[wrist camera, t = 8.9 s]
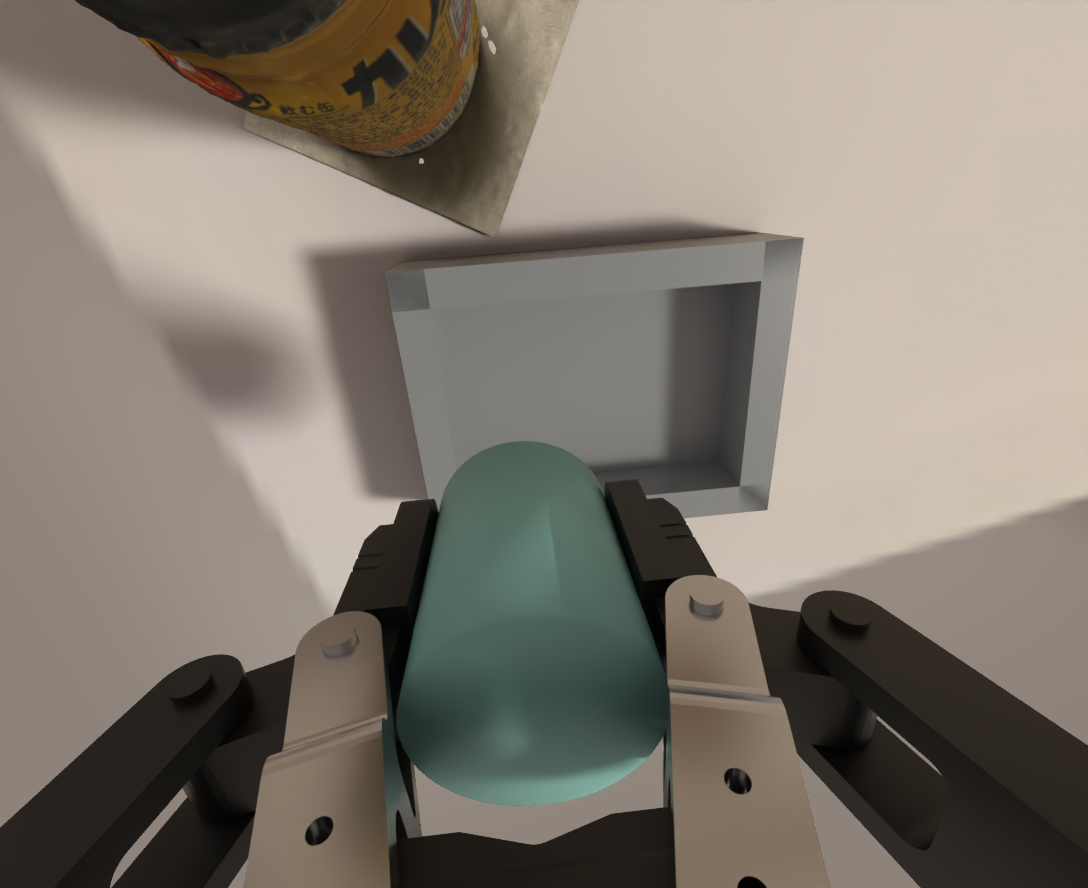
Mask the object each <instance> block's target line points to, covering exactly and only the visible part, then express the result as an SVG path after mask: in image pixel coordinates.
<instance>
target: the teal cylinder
mask: <svg viewBox="0 0 1088 888" xmlns="http://www.w3.org/2000/svg"><path fill="white" fill-rule="evenodd" d="M396 725H397V730H398V735H399V739H400V741H401V744H402V746H403V749H404V750H405V752H406V754H407V755H408V757H409V758H410V760H411V761H412V762H413V763H414V765H415V766H416V767H417V768H418V769H419V770H420V771H421V772H422V773H424V774H425V775H426V776H427V777H428V778H429V779H431V780H432V781H434V782H435V783H437V784H438V785H440V786H442V787H444V788H446V789H448V790H450V791H452V792H454V793H456V794H459V795H461V796H464V797H467V798H470V799H474V800H478V801H481V802H487V803H492V804H498V805H510V806H536V805H547V804H554V803H560V802H565V801H569V800H573V799H577V798H580V797H583V796H586V795H589V794H592V793H595V792H597V791H599V790H601V789H604V788H606V787H608V786H610V785H612V784H613V783H615V782H617V781H619V780H621V779H622V778H624V777H625V776H627V775H628V774H629V773H631V772H632V771H634V770H635V769H636V768H637V767H638V766H639V765H640V764H642V763H643V762H644V761H645V760H646V759H647V757H649V755H650V754H651V753H652V752H653V751H654V749H655V748H656V747H657V745H658V744H659V742H660V741H661V739H662V737H663V735H664V733H665V731H666V729H667V699H666V674H665V671H664V668H663V665H662V662H661V659H660V656H659V653H658V650H657V648H656V645H655V642H654V639H653V636H652V633H651V630H650V627H649V624H648V621H647V619H646V616H645V613H644V610H643V607H642V604H641V602H640V599H639V596H638V593H637V590H636V587H635V584H634V581H633V578H632V575H631V573H630V570H629V567H628V564H627V561H626V558H625V555H624V552H623V549H622V546H621V543H620V541H619V538H618V535H617V532H616V529H615V526H614V523H613V520H612V517H611V514H610V512H609V509H608V506H607V503H606V500H605V497H604V494H603V491H602V489H601V486H600V484H599V482H598V480H597V478H596V477H595V475H594V474H593V472H592V471H591V470H590V469H589V467H588V466H587V465H586V464H585V463H583V462H582V461H581V460H580V459H579V458H577V457H576V456H574V455H573V454H571V453H570V452H568V451H566V450H564V449H562V448H559V447H556V446H554V445H551V444H546V443H541V442H534V441H515V442H508V443H503V444H499V445H496V446H492V447H490V448H488V449H485V450H483V451H481V452H479V453H478V454H476V455H474V456H472V457H471V458H470V459H469V460H467V461H466V462H465V463H464V464H463V465H462V466H461V467H460V468H459V469H458V470H457V471H456V472H455V473H454V475H453V476H452V477H451V478H450V480H449V482H448V484H447V486H446V488H445V490H444V493H443V496H442V500H441V504H440V509H439V514H438V518H437V523H436V528H435V532H434V537H433V542H432V547H431V551H430V556H429V561H428V565H427V570H426V575H425V579H424V584H423V589H422V594H421V598H420V603H419V608H418V612H417V617H416V622H415V626H414V631H413V636H412V641H411V645H410V650H409V655H408V659H407V664H406V669H405V673H404V678H403V683H402V688H401V692H400V697H399V702H398V707H397V714H396Z"/></svg>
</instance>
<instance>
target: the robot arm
mask: <svg viewBox="0 0 1088 888" xmlns="http://www.w3.org/2000/svg"><path fill="white" fill-rule="evenodd" d="M604 493H605V500H606V503H607V506H608V509H609V512H610V514H611V517H612V520H613V523H614V526H615V529H616V532H617V535H618V538H619V541H620V543H621V546H622V549H623V552H624V555H625V558H626V561H627V564H628V567H629V570H630V573H631V575H632V578H633V581H634V584H635V587H636V590H637V593H638V596H639V599H640V602H641V604H642V607H643V610H644V613H645V616H646V619H647V621H648V624H649V627H650V630H651V633H652V636H653V639H654V642H655V645H656V648H657V650H658V653H659V656H660V659H661V662H662V665H663V668H664V671H665V674H666V699H667V729H666V731H665V733H664V735H663V737H662V751H663V752H662V753H663V808H656V809H648V810H640V811H631V812H623V813H615V814H610V815H608V816H605V817H603V818H601V819H599V820H596V821H594V822H591V823H589V824H587V825H585V826H582V827H580V828H578V829H575V830H573V831H571V832H568V833H566V834H564V835H561V836H559V837H557V838H554V839H552V840H550V841H547V842H545V843H542V844H537V845H530V844H523V843H518V842H512V841H507V840H501V839H495V838H490V837H484V836H479V835H473V834H467V833H461V832H457V833H449V834H440V835H431V836H423V837H422V831H421V824H420V814H419V805H418V796H417V787H416V779H415V770H414V763H413V762H412V761H411V760H410V758H409V757H408V755H407V754H406V752H405V750H404V749H403V746H402V744H401V741H400V739H399V735H398V730H397V725H396V714H397V707H398V702H399V697H400V692H401V688H402V683H403V678H404V673H405V669H406V664H407V659H408V655H409V650H410V645H411V641H412V636H413V631H414V626H415V622H416V617H417V612H418V608H419V603H420V598H421V594H422V589H423V584H424V579H425V575H426V570H427V565H428V561H429V556H430V551H431V547H432V542H433V537H434V532H435V528H436V523H437V518H438V514H439V513H438V508H437V504H436V501H435V499H426V500H416V501H406V502H401V504H400V506H399V509H398V512H397V515H396V518H395V521H394V524H390V525H381V526H379V527H378V528H377V529H376V530H374V531H373V532H372V533H371V534H370V535H369V536H368V537H367V538H366V539H365V540H364V543H363V545H362V548H361V550H360V552H359V555H358V559H357V560H356V562H355V564H354V567H353V572H351V574H350V577H349V579H348V581H347V584H346V586H345V589H344V591H343V593H342V596H341V598H340V601H339V603H338V605H337V608H336V610H335V613H334V615H333V616H331V617H329V618H327V619H325V620H323V621H321V622H320V623H318V624H317V625H316V626H314V627H313V628H311V629H310V630H309V631H308V632H307V633H306V634H305V636H303V638H302V639H301V641H300V642H299V644H298V646H297V649H296V653H295V655H293V656H291V657H289V658H286V659H284V660H281V661H278V662H275V663H272V664H269V665H267V666H264V667H261V668H258V669H255V670H252V671H249V672H246V673H245V671H244V669H243V667H242V665H241V663H240V661H239V660H238V659H236V658H234V657H233V656H229V655H212V656H206V657H203V658H200V659H197V660H194V661H192V662H190V663H187V664H185V665H184V666H181V667H180V668H178V669H176V670H175V671H173V672H172V673H170V674H169V675H167V676H166V677H165V678H164V679H162V680H161V681H160V682H159V683H158V684H157V685H156V686H155V687H153V688H152V689H151V690H150V691H149V692H148V693H147V694H146V695H145V696H144V697H143V698H141V699H140V700H139V701H138V702H137V703H136V704H135V705H134V706H133V707H132V708H131V709H130V710H128V711H127V712H126V713H125V714H124V715H123V716H122V717H121V718H120V719H118V720H117V721H116V722H115V723H114V724H113V725H112V726H111V727H110V728H109V729H108V730H106V731H105V732H104V733H103V734H102V735H101V736H100V737H99V738H98V739H97V740H96V741H94V742H93V743H92V744H91V745H90V746H89V747H88V748H87V749H86V750H85V751H84V752H82V753H81V754H80V755H79V756H78V757H77V758H76V759H75V760H74V761H73V762H72V763H70V764H69V765H68V766H67V767H66V768H65V769H64V770H63V771H62V772H61V773H59V775H57V776H56V777H55V778H54V779H53V780H52V781H51V782H50V783H49V784H48V785H46V786H45V787H44V788H43V789H42V790H41V791H40V792H39V793H38V794H37V795H35V796H34V797H33V798H32V799H31V800H30V801H29V802H28V803H27V804H26V805H25V806H24V807H22V808H21V809H20V810H19V811H18V812H17V813H16V814H15V815H14V816H13V817H11V818H10V819H9V820H8V821H7V822H6V823H5V824H4V825H3V826H2V827H1V828H0V888H110V884H111V880H112V877H113V874H114V872H115V870H116V868H117V866H118V864H119V862H120V861H121V859H122V858H123V856H124V855H125V854H126V853H127V851H128V850H129V849H130V848H131V847H132V845H133V844H134V843H135V842H136V841H137V840H138V838H139V837H140V836H141V835H142V834H143V833H144V831H145V830H146V829H147V828H148V827H149V826H150V825H151V823H152V822H153V821H154V820H155V819H156V818H157V816H158V815H159V814H160V813H161V812H162V811H163V809H164V808H165V807H166V806H167V805H168V804H169V802H170V801H171V800H172V799H173V798H174V797H175V796H176V794H177V793H178V792H179V791H180V790H181V789H182V788H183V790H184V792H185V793H186V795H187V798H186V800H185V801H184V802H183V803H182V804H181V805H180V807H179V808H178V809H177V810H176V811H175V813H174V814H173V815H172V816H171V817H170V819H169V820H168V821H167V822H166V823H165V824H164V826H163V827H162V828H161V829H160V830H159V832H158V833H157V834H156V835H155V836H154V838H153V839H152V840H151V841H150V842H149V844H148V845H147V846H146V847H145V848H144V849H143V851H142V852H141V853H140V854H139V855H138V857H137V858H136V859H135V860H134V861H133V863H132V864H131V865H130V866H129V867H128V869H127V870H126V871H125V872H124V873H123V875H122V876H121V877H120V878H119V879H118V881H117V882H116V883H115V884H114V885H113V887H112V888H228V887H229V885H230V884H231V882H232V881H233V879H234V878H235V876H236V875H237V873H238V872H239V871H240V869H241V867H242V866H243V865H244V863H245V862H246V860H247V859H248V862H247V868H246V874H245V880H244V886H243V888H831V885H830V882H829V877H828V873H827V870H826V865H825V862H824V858H823V854H822V850H821V846H820V842H819V838H818V834H817V830H816V826H815V822H814V818H813V815H812V811H811V807H810V803H809V799H808V795H807V791H806V787H805V784H804V779H803V775H802V771H801V768H800V764H799V760H798V756H797V754H798V755H799V756H800V757H801V758H802V759H803V761H804V762H805V763H806V764H807V765H808V766H809V767H810V768H811V769H812V770H813V771H814V772H815V774H816V775H817V776H818V777H819V778H820V779H821V780H822V781H823V782H824V783H825V784H826V786H828V788H829V789H830V790H831V791H832V792H833V793H834V794H835V795H836V796H837V797H838V799H839V800H840V801H841V802H842V803H843V804H844V805H845V806H846V807H847V808H848V809H849V810H850V812H851V813H852V814H853V815H854V816H855V817H856V818H857V819H858V820H859V821H860V822H861V823H862V825H863V826H864V827H865V828H866V829H867V830H868V831H869V832H870V833H871V834H872V835H873V837H874V838H875V839H876V840H877V841H878V842H879V843H880V844H881V845H882V846H883V847H884V848H885V849H886V851H887V852H888V853H889V854H890V855H891V856H892V857H893V858H894V859H895V860H896V861H897V863H898V864H899V865H900V866H901V867H902V868H903V869H904V870H905V871H906V872H907V873H908V874H909V875H910V877H911V878H912V879H913V880H914V881H915V882H916V883H917V884H918V885H919V886H920V887H921V888H1088V745H1086V744H1085V743H1083V742H1082V741H1080V740H1079V739H1077V738H1076V737H1074V736H1073V735H1071V734H1070V733H1068V732H1067V731H1065V730H1064V729H1062V728H1061V727H1059V726H1058V725H1056V724H1055V723H1053V722H1052V721H1050V720H1049V719H1047V718H1046V717H1044V716H1043V715H1042V714H1040V713H1039V712H1037V711H1036V710H1034V709H1033V708H1031V707H1030V706H1028V705H1027V704H1025V703H1024V702H1022V701H1021V700H1019V699H1018V698H1016V697H1015V696H1013V695H1011V694H1010V693H1009V692H1007V691H1006V690H1004V689H1003V688H1001V687H1000V686H998V685H997V684H995V683H994V682H992V681H991V680H989V679H988V678H986V677H985V676H983V675H982V674H980V673H979V672H977V671H976V670H974V669H973V668H971V667H970V666H968V665H967V664H965V663H964V662H962V661H961V660H960V659H958V658H956V657H955V656H954V655H952V654H951V653H949V652H948V651H946V650H945V649H943V648H942V647H940V646H939V645H937V644H936V643H934V642H933V641H931V640H930V639H928V638H927V637H925V636H924V635H922V634H921V633H919V632H918V631H916V630H915V629H913V628H912V627H910V626H909V625H907V624H906V623H904V622H903V621H901V620H900V619H898V618H897V617H895V616H894V615H892V614H891V613H889V612H888V611H886V610H885V609H883V608H882V607H880V606H879V605H877V604H875V603H874V602H872V601H870V600H868V599H866V598H864V597H861V596H858V595H855V594H852V593H848V592H842V591H821V592H817V593H814V594H812V595H810V596H808V597H807V598H806V599H805V601H804V602H803V604H802V608H801V612H795V611H787V610H780V609H773V608H766V607H761V606H757V605H754V604H751V603H748V601H747V598H746V597H745V595H744V594H743V593H742V592H741V591H740V590H739V589H738V588H737V587H736V586H734V585H733V584H731V583H730V582H727V581H725V580H723V579H720V578H717V576H716V574H715V573H714V571H713V569H712V567H711V566H710V564H709V562H708V560H707V559H706V557H705V555H704V553H703V552H702V550H701V548H700V546H699V545H698V543H697V541H696V539H695V538H694V537H693V535H692V532H691V531H690V529H689V527H688V525H686V522H685V520H684V518H683V517H682V515H681V513H680V511H679V510H678V508H676V507H675V506H674V505H672V504H671V503H669V502H668V501H666V500H665V499H664V498H652V499H647V498H646V496H645V494H644V492H643V489H642V487H641V485H640V483H639V481H638V480H637V479H630V480H620V481H610V482H605V489H604ZM877 716H879V717H880V718H881V719H882V720H883V721H885V722H886V723H887V724H888V725H889V726H890V727H891V728H893V729H894V730H895V731H896V732H897V733H899V734H900V735H901V736H902V737H903V738H904V739H905V740H906V741H908V742H909V743H910V744H911V745H912V746H913V747H915V748H916V749H917V750H918V751H919V752H920V753H922V754H923V755H924V756H925V757H926V758H927V759H928V760H930V762H932V764H933V765H934V766H935V767H936V768H937V769H938V770H939V772H940V773H941V775H942V776H943V777H942V776H941V775H940V774H939V773H938V772H937V771H935V770H934V769H933V768H932V767H931V766H930V765H929V764H928V763H926V762H925V761H924V760H923V759H922V758H921V757H919V756H918V755H917V754H916V753H915V752H914V751H913V750H911V749H910V748H909V747H908V746H907V745H906V744H905V743H903V742H902V741H901V740H900V739H899V738H898V737H896V736H895V735H894V734H893V733H892V732H891V731H890V730H888V729H887V728H886V727H885V726H884V725H882V723H881V722H879V721H878V720H877Z"/></svg>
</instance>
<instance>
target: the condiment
mask: <svg viewBox="0 0 1088 888" xmlns="http://www.w3.org/2000/svg"><path fill="white" fill-rule="evenodd" d="M75 1H77V2H78V3H79V4H80V5H82V6H84V7H86V8H88V9H90V10H92V11H93V12H95V13H96V14H98V15H100V16H101V17H103V18H104V19H106V20H108V21H110V22H111V23H113V24H114V25H115V26H116V27H118V28H119V29H121V30H123V31H126V32H128V33H131V34H133V35H135V36H137V37H138V38H139V39H140V40H141V41H142V42H143V43H144V44H145V45H146V46H147V47H148V48H150V49H151V50H152V51H153V52H154V53H155V54H156V55H157V56H158V57H159V58H160V59H161V60H162V61H163V62H165V63H166V64H167V65H169V66H170V67H171V68H172V69H173V70H175V71H176V72H177V73H178V74H180V75H181V76H183V77H184V78H186V79H188V80H189V81H191V82H193V83H195V84H197V85H198V86H200V87H201V88H203V89H204V90H206V91H207V92H209V93H210V94H211V95H214V96H217V97H219V98H221V99H223V100H224V101H226V102H230V103H231V104H233V105H235V106H237V107H239V108H242V109H244V110H245V116H244V123H243V128H244V129H246V130H248V131H251V132H253V133H255V134H258V135H260V136H262V137H265V138H267V139H269V140H272V141H274V142H276V143H278V144H281V145H283V146H285V147H288V148H290V149H292V150H295V151H297V152H299V153H302V154H304V155H306V156H309V157H311V158H313V159H316V160H318V161H320V162H322V163H325V164H327V165H329V166H332V167H334V168H336V169H339V170H341V171H343V172H345V173H348V174H350V175H352V176H355V177H357V178H359V179H362V180H364V181H366V182H368V183H371V184H373V185H375V186H377V187H379V188H382V189H384V190H387V191H389V192H391V193H393V194H396V195H398V196H400V197H403V198H405V199H408V200H410V201H412V202H414V203H417V204H419V205H421V206H423V207H425V208H428V209H430V210H433V211H435V212H437V213H439V214H441V215H444V216H447V217H449V218H451V219H453V220H456V221H458V222H460V223H463V224H465V225H467V226H469V227H471V228H474V229H476V230H478V231H481V232H483V233H485V234H488V235H490V236H492V237H496V235H497V232H498V229H499V226H500V224H501V221H502V218H503V214H504V212H505V209H506V206H507V203H508V201H509V198H510V195H511V192H512V189H513V186H514V183H515V181H516V178H517V175H518V172H519V169H520V166H521V164H522V161H523V158H524V155H525V152H526V149H527V146H528V143H529V141H530V138H531V135H532V132H533V129H534V126H535V124H536V121H537V118H538V115H539V112H540V107H541V106H542V104H543V101H544V98H545V95H546V92H547V89H548V87H549V84H550V80H551V78H552V75H553V72H554V69H555V67H556V64H557V61H558V58H559V55H560V52H561V49H562V47H563V43H564V40H565V38H566V35H567V32H568V29H569V27H570V24H571V21H572V18H573V15H574V12H575V9H576V7H577V4H578V1H579V0H75ZM483 26H485V27H486V28H487V32H488V37H487V38H484V37H483V36H482V33H481V28H482V27H483ZM488 40H492V41H493V43H494V45H495V47H496V49H497V50H496V53H495V54H494V55H493V54H492V52H491V50H490V49H489V45H488ZM420 158H422V159H424V164H419V159H420Z"/></svg>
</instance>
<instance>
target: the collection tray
mask: <svg viewBox="0 0 1088 888" xmlns="http://www.w3.org/2000/svg"><path fill="white" fill-rule="evenodd" d="M803 239H804V238H800V237H792V236H783V235H775V234H767V233H751V234H738V235H726V236H714V237H702V238H689V239H677V240H665V241H653V242H640V243H628V244H616V245H603V246H591V247H579V248H567V249H554V250H542V251H530V252H518V253H505V254H493V255H481V256H469V257H456V258H444V259H432V260H420V261H407V262H401V263H399V264H398V265H396V266H394V267H392V268H391V269H389V270H387V271H386V272H384V274H385V280H386V285H387V290H388V295H389V300H390V305H391V310H392V316H393V321H394V326H395V331H396V336H397V341H398V346H399V352H400V357H401V362H402V367H403V372H404V377H405V382H406V388H407V393H408V398H409V403H410V408H411V413H412V419H413V424H414V429H415V434H416V439H417V444H418V449H419V455H420V460H421V465H422V470H423V475H424V480H425V485H426V491H427V496H428V499H435V501H436V504H437V508H438V513H439V509H440V504H441V500H442V496H443V493H444V490H445V488H446V486H447V484H448V482H449V480H450V478H451V477H452V476H453V475H454V473H455V472H456V471H457V470H458V469H459V468H460V467H461V466H462V465H463V464H464V463H465V462H466V461H467V460H469V459H470V458H471V457H472V456H474V455H476V454H478V453H479V452H481V451H483V450H485V449H488V448H490V447H492V446H496V445H499V444H503V443H508V442H515V441H534V442H541V443H546V444H551V445H554V446H556V447H559V448H562V449H564V450H566V451H568V452H570V453H571V454H573V455H574V456H576V457H577V458H579V459H580V460H581V461H582V462H583V463H585V464H586V465H587V466H588V467H589V469H590V470H591V471H592V472H593V474H594V475H595V477H596V478H597V480H598V482H599V484H600V486H601V489H602V491H603V494H604V497H605V493H604V489H605V482H610V481H620V480H630V479H637V480H638V481H639V483H640V485H641V487H642V489H643V492H644V494H645V496H646V498H647V499H652V498H664V499H665V500H666V501H668V502H669V503H671V504H672V505H674V506H675V507H676V508H678V510H679V511H680V513H681V515H682V517H683V518H690V517H700V516H710V515H721V514H731V513H741V512H751V511H761V510H767V507H768V500H769V492H770V485H771V477H772V470H773V463H774V455H775V448H776V440H777V433H778V425H779V418H780V410H781V403H782V395H783V388H784V380H785V373H786V366H787V358H788V351H789V343H790V336H791V328H792V321H793V313H794V306H795V298H796V291H797V283H798V276H799V269H800V261H801V254H802V246H803Z"/></svg>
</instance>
